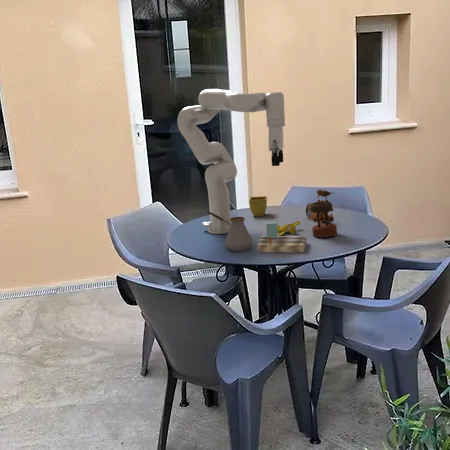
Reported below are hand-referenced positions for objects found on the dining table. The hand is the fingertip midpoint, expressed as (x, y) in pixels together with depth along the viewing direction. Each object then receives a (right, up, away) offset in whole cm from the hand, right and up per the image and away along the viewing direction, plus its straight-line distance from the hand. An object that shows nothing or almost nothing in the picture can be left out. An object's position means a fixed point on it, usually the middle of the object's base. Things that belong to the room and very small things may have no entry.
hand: (277, 163), depth 223 cm
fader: (-3, -32, -6) cm, 33 cm away
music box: (+20, -31, +6) cm, 37 cm away
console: (+1, -35, -7) cm, 36 cm away
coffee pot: (-20, -35, 0) cm, 41 cm away
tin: (+22, -24, +31) cm, 45 cm away
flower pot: (-5, -21, +50) cm, 55 cm away
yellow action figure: (+2, -30, +16) cm, 34 cm away
